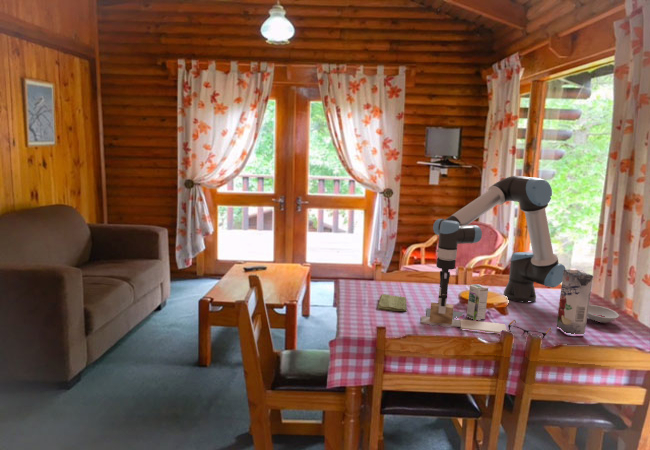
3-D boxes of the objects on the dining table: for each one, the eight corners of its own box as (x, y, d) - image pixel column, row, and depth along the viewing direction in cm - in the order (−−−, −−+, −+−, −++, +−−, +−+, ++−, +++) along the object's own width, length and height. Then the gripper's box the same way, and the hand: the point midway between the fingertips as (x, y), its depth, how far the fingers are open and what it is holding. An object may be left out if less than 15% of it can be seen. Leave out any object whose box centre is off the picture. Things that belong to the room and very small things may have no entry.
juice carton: (574, 328, 216) (582, 266, 211) (587, 338, 205) (596, 272, 201) (553, 327, 215) (561, 265, 211) (565, 337, 205) (574, 271, 200)
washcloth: (376, 311, 227) (377, 304, 226) (379, 299, 244) (380, 292, 243) (406, 314, 225) (407, 307, 224) (407, 301, 242) (407, 295, 241)
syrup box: (465, 316, 224) (469, 284, 221) (476, 315, 226) (479, 283, 224) (474, 321, 219) (478, 288, 216) (485, 319, 221) (489, 287, 219)
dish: (572, 314, 235) (574, 303, 234) (605, 316, 234) (606, 305, 233) (589, 328, 217) (591, 316, 216) (624, 330, 216) (626, 319, 216)
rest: (504, 326, 213) (504, 324, 213) (507, 335, 204) (508, 332, 204) (459, 321, 217) (460, 319, 217) (461, 330, 207) (461, 327, 207)
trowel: (459, 322, 217) (461, 304, 216) (460, 329, 209) (462, 310, 208) (421, 318, 220) (422, 300, 219) (420, 324, 212) (422, 305, 211)
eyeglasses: (506, 334, 206) (507, 324, 206) (515, 324, 218) (516, 315, 217) (544, 343, 199) (545, 333, 198) (551, 332, 210) (552, 323, 210)
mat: (463, 312, 229) (463, 312, 229) (464, 321, 218) (464, 320, 218) (426, 308, 232) (426, 308, 232) (426, 316, 221) (426, 316, 221)
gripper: (436, 251, 223) (432, 298, 226) (437, 264, 199) (432, 316, 202) (454, 253, 221) (449, 300, 225) (457, 266, 197) (451, 319, 201)
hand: (441, 308), depth 213 cm, fingers open, 13 cm apart
